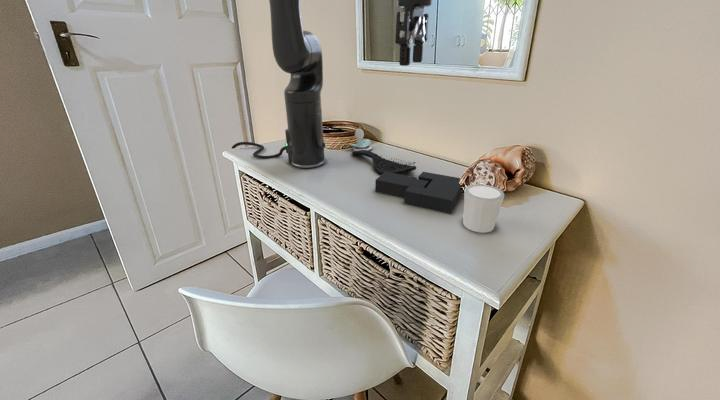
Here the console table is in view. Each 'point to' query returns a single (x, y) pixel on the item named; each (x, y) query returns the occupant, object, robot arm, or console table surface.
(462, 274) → the console table surface
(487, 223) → the white cylinder
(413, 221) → the console table surface
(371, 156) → the hairbrush
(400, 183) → the pad
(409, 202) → the notch pad
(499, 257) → the console table surface
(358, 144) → the pacifier
